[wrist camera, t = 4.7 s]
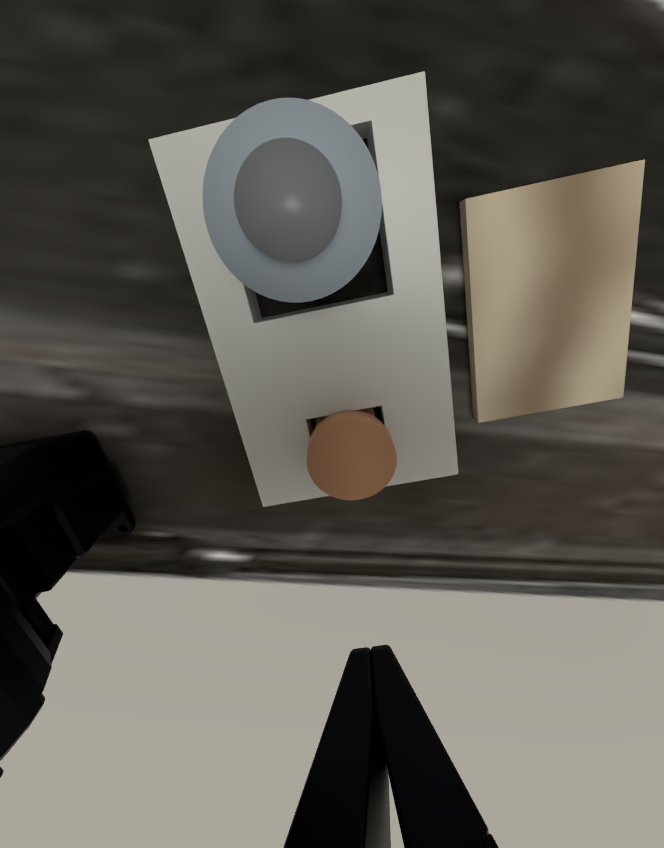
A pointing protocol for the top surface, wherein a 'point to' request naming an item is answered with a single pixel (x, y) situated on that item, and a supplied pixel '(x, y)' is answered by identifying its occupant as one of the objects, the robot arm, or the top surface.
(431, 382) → the white tray
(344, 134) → the cylinder
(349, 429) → the plunger
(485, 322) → the pad
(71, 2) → the top surface
